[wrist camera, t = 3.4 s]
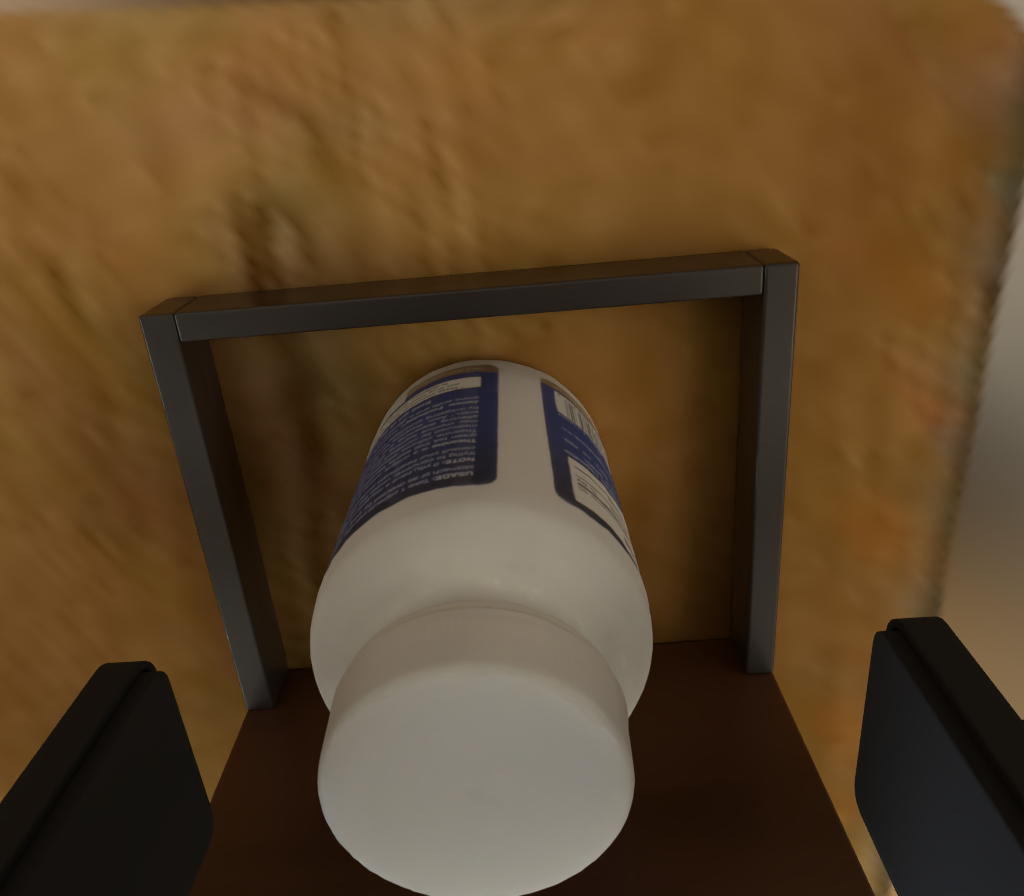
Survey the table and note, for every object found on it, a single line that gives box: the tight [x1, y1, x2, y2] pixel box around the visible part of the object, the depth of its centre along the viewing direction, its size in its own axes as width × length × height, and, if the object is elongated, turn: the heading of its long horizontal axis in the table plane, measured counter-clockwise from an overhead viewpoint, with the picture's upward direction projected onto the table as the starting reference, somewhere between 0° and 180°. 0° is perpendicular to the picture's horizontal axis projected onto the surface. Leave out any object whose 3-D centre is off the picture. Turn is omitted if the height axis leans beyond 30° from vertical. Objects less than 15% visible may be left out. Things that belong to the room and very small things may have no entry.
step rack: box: [139, 249, 875, 896], centre depth 16 cm, size 20×13×12 cm, turn 5°
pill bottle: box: [310, 360, 653, 896], centre depth 14 cm, size 5×5×10 cm
